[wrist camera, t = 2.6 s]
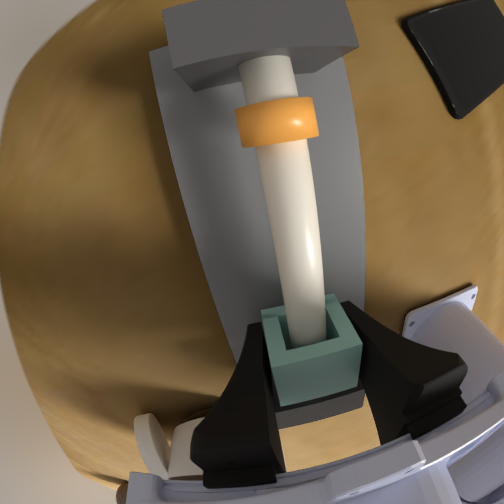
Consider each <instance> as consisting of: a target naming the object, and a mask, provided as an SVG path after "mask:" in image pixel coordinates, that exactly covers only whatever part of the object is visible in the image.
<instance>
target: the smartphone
mask: <svg viewBox="0 0 504 504" xmlns="http://www.w3.org/2000/svg"><path fill="white" fill-rule="evenodd" d="M401 25H402V28H403V30H404V32H405V33H406V35H407V36H408V38H409V39H410V41H411V42H412V44H413V45H414V47H415V48H416V50H417V52H418V53H419V55H420V56H421V58H422V60H423V61H424V63H425V65H426V67H427V68H428V70H429V72H430V74H431V76H432V77H433V79H434V81H435V83H436V85H437V87H438V89H439V91H440V93H441V95H442V97H443V99H444V101H445V103H446V105H447V108H448V110H449V112H450V114H451V116H452V117H453V118H455V119H462V118H463V117H465V116H466V115H467V114H468V113H470V112H471V111H472V110H473V109H474V108H476V107H477V106H478V105H479V104H480V103H481V102H483V101H484V100H485V99H486V98H487V97H488V96H490V95H491V94H492V93H493V92H494V91H495V90H497V89H498V88H499V87H500V86H501V85H502V84H503V83H504V16H503V15H502V13H501V11H500V10H499V8H498V6H497V5H496V3H495V2H494V0H463V1H459V2H455V3H451V4H447V5H443V6H440V7H437V8H433V9H430V10H427V11H424V12H421V13H418V14H415V15H412V16H410V17H407V18H405V19H403V20H402V22H401ZM437 79H438V80H437ZM453 112H454V113H453Z"/></svg>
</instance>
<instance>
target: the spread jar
mask: <svg viewBox="0 0 504 504" xmlns="http://www.w3.org/2000/svg"><path fill="white" fill-rule="evenodd" d="M212 408H213V407H212ZM212 408H208V409H205V410H202V411H200V412H198V413H195V414H193V415H191V416H189V417H188V418H186V419H184V420H183V421H182V422H180V423H179V424H178V425H177V427H176V428H175V430H174V432H173V435H172V439H171V446H169V443H168V441H167V439H166V436H165V434H164V432H163V430H162V428H161V426H160V424H159V422H158V420H157V419H156V417H155V416H154V415H153V414H152V413H148V414H143V415H138V416H136V417H135V419H134V432H135V437H136V441H137V445H138V448H139V451H140V454H141V456H142V459H143V461H144V463H145V465H146V467H147V469H148V471H149V472H150V474H154V475H158V476H160V477H161V478H162V479H163V480H183V481H203V470H202V469H200V468H199V467H198V466H197V465H195V464H194V463H193V462H192V461H191V460H190V443H191V438H192V434H193V431H194V428H195V427H196V426H197V425H198V424H199V423H200V422H201V421H202V420H203V419H204V418H205V417H206V415H207V414H208V413H209V412H210V410H211V409H212ZM281 446H282V445H281ZM282 451H283V449H282ZM283 456H284V453H283ZM284 461H285V458H284ZM285 466H286V463H285ZM286 471H287V469H286Z"/></svg>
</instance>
